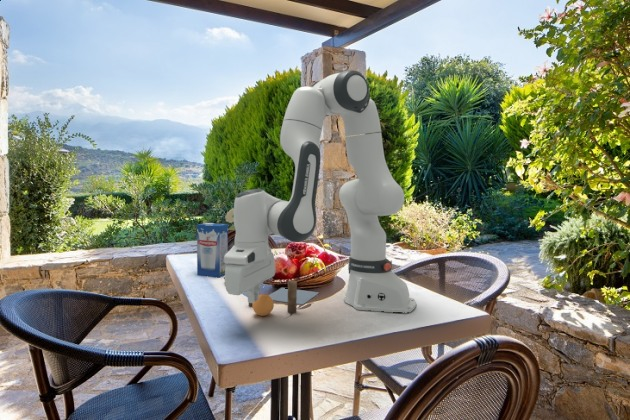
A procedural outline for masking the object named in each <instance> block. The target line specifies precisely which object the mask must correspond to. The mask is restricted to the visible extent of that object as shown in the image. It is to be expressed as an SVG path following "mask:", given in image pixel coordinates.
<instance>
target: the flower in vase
mask: <svg viewBox="0 0 630 420" xmlns="http://www.w3.org/2000/svg"><path fill="white" fill-rule="evenodd" d="M224 218H225V222H227V223H234V207H232V208H231V209H229V211H227V212H226V215H225V217H224ZM229 230H230V231H236V230H235V226H234V224H232V225H231V226H230V227H228V231H229Z"/></svg>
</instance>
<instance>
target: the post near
mask: <svg viewBox="0 0 630 420" xmlns="http://www.w3.org/2000/svg"><path fill="white" fill-rule="evenodd" d="M287 288H288V303H287V310H286V311H287V313H288V314H295V313H297V304H296V303H297V290H298V289H297V288H298V282H297V280H294V279H293V280H288V281H287Z"/></svg>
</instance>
